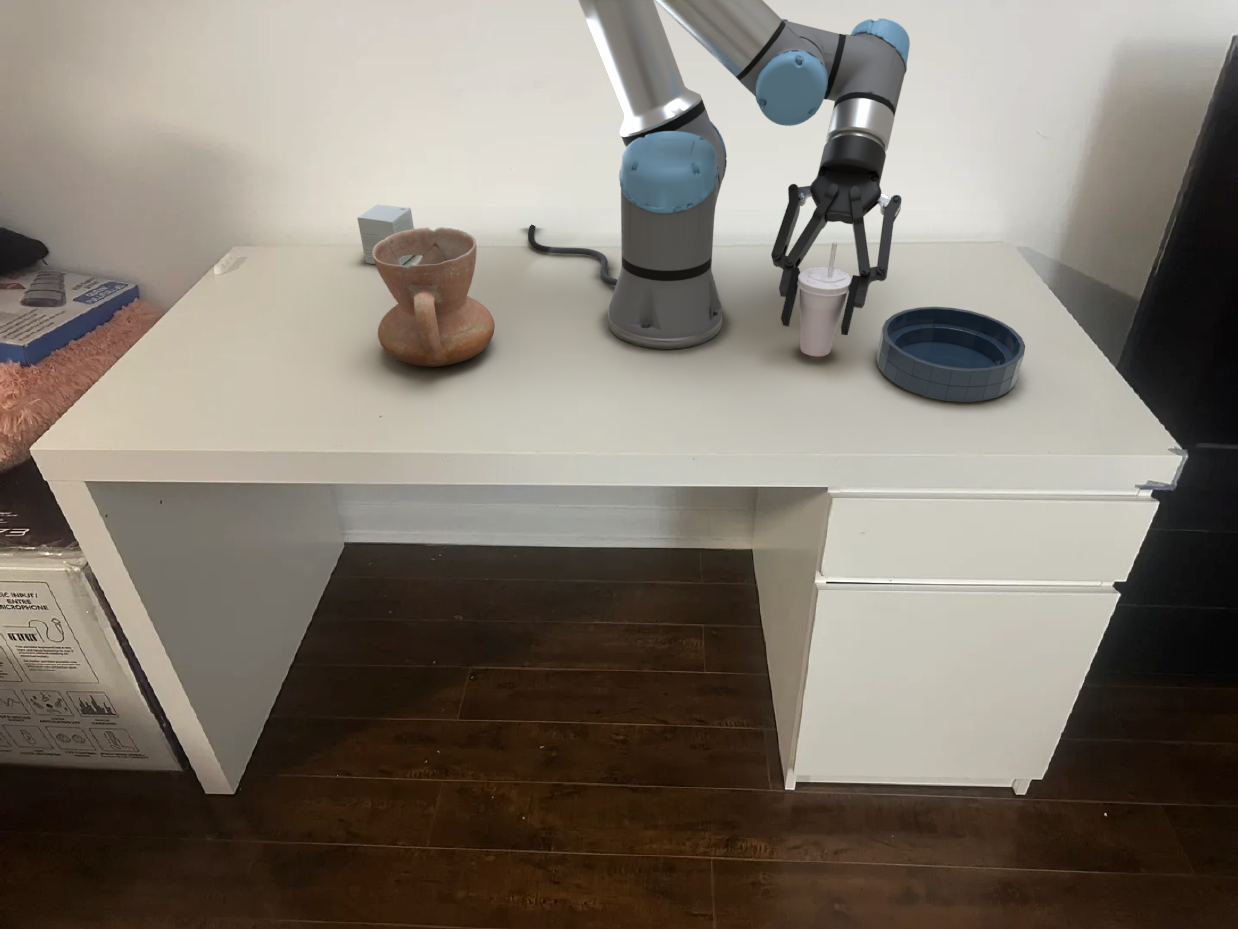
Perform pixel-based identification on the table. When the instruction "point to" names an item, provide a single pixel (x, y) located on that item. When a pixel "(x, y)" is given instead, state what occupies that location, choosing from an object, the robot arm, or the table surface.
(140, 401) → the table surface
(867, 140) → the robot arm
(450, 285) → the ceramic jug
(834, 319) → the smoothie
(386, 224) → the product box
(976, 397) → the bowl
